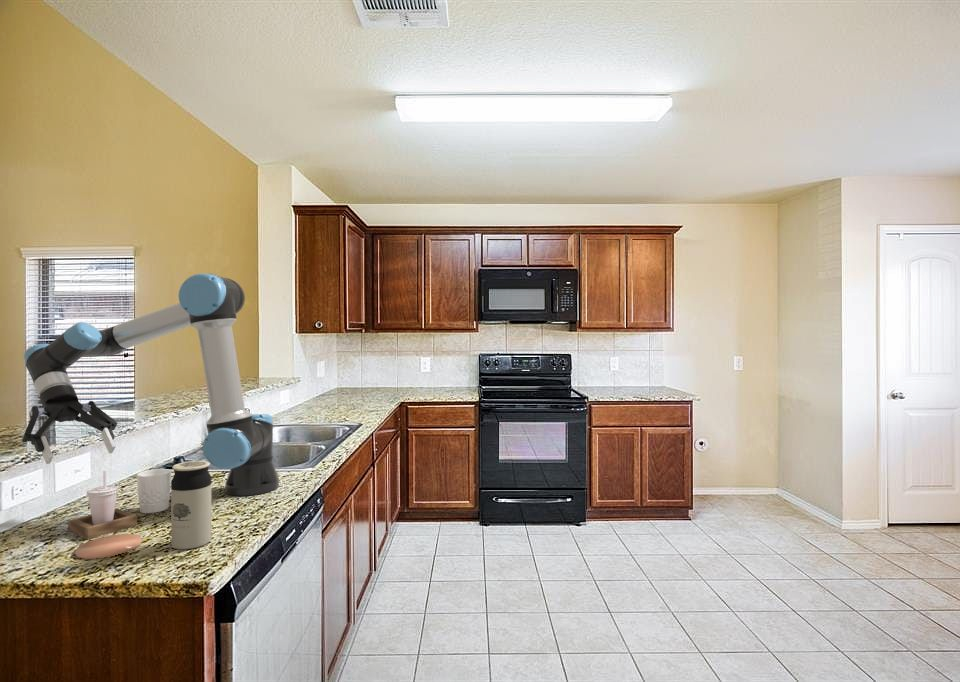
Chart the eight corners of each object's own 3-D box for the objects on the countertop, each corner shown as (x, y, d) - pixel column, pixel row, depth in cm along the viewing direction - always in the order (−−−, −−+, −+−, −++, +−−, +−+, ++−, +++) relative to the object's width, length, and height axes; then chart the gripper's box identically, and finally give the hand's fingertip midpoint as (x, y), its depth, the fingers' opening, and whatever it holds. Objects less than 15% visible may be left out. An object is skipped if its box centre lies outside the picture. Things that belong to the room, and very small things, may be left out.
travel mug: (194, 534, 123) (194, 459, 123) (219, 539, 120) (219, 462, 120) (163, 547, 116) (162, 466, 116) (188, 552, 113) (188, 470, 113)
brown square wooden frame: (116, 517, 134) (116, 508, 134) (137, 525, 129) (136, 515, 129) (68, 530, 125) (68, 520, 125) (88, 539, 120) (88, 528, 120)
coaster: (151, 535, 122) (151, 532, 122) (125, 557, 110) (125, 553, 110) (95, 538, 120) (95, 535, 120) (62, 561, 108) (62, 557, 108)
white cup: (177, 507, 142) (177, 471, 142) (146, 516, 135) (146, 478, 135) (161, 502, 146) (161, 467, 146) (131, 511, 139) (130, 474, 139)
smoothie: (102, 534, 123) (101, 475, 123) (79, 532, 124) (79, 473, 124) (125, 524, 129) (125, 468, 129) (104, 522, 131) (103, 467, 131)
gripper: (104, 397, 152) (130, 454, 144) (-9, 407, 131) (15, 475, 123) (113, 380, 149) (140, 437, 142) (-1, 387, 128) (24, 455, 120)
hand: (82, 455), depth 132 cm, fingers open, 13 cm apart
